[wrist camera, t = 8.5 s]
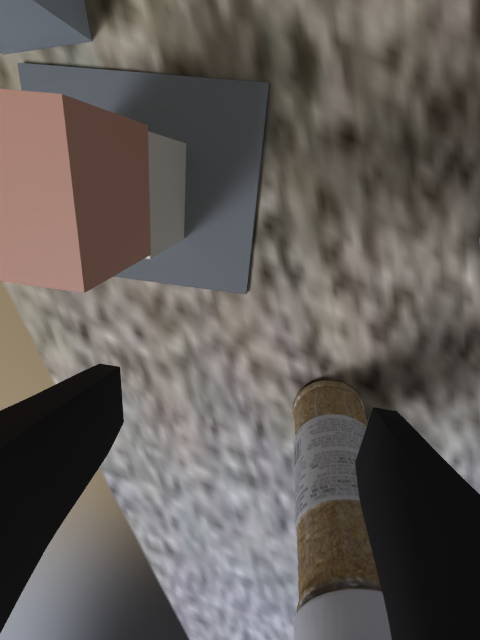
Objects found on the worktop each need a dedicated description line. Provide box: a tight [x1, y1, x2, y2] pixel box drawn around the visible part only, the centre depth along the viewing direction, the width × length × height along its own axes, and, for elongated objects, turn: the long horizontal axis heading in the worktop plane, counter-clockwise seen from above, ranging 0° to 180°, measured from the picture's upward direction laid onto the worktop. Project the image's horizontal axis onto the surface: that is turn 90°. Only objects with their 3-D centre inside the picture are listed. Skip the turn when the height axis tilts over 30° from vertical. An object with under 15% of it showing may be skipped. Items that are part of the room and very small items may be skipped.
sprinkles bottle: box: [293, 380, 392, 640], centre depth 15 cm, size 5×5×14 cm
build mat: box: [18, 63, 269, 294], centre depth 17 cm, size 12×10×1 cm
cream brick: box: [146, 131, 186, 259], centre depth 15 cm, size 5×5×5 cm
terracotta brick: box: [0, 89, 151, 293], centre depth 10 cm, size 5×5×5 cm
